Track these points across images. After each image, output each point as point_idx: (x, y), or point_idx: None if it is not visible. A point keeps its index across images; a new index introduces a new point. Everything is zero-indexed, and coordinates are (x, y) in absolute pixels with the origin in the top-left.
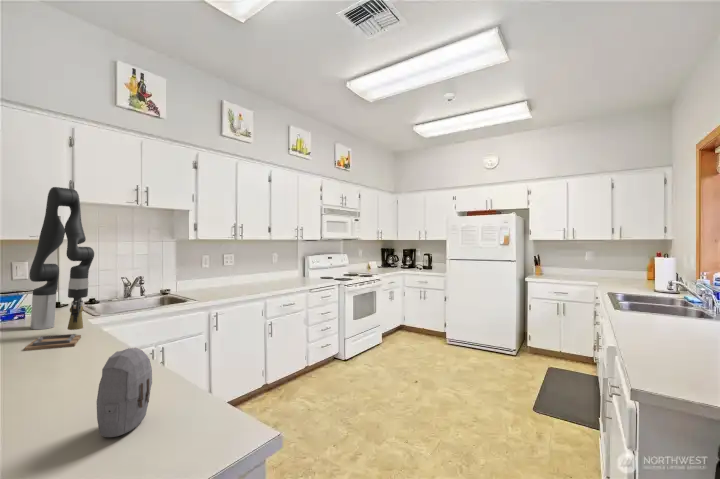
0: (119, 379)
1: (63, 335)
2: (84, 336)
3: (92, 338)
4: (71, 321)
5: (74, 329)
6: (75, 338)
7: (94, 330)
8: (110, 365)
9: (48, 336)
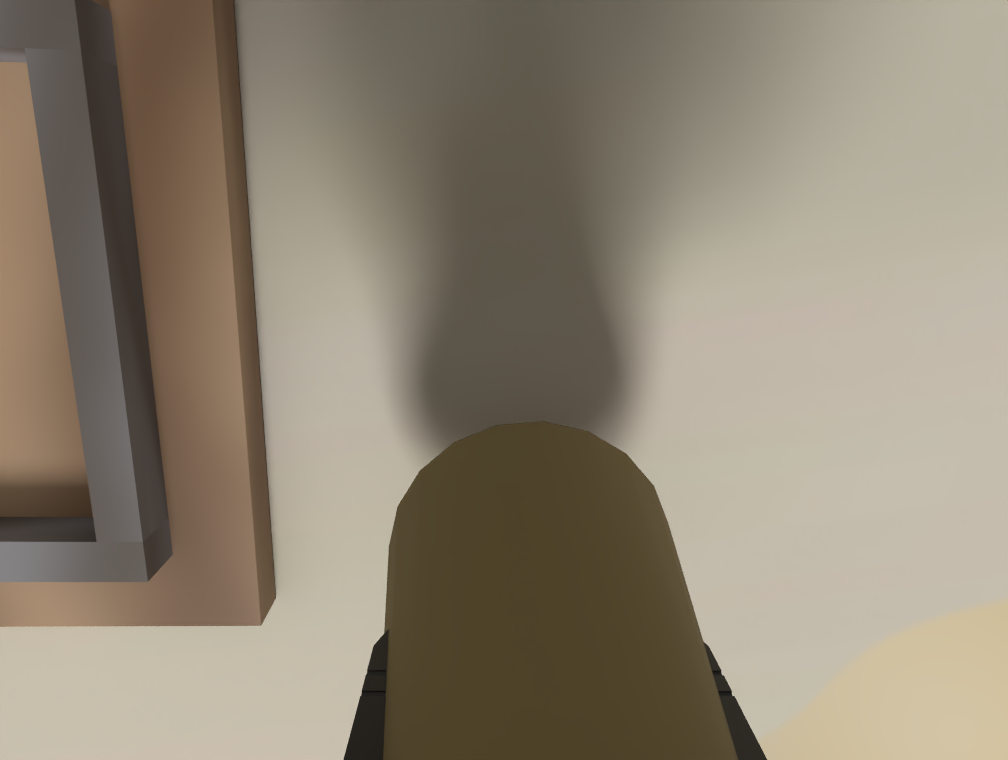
0: None
1: (78, 412)
2: (354, 630)
3: (165, 744)
4: (410, 607)
5: (388, 561)
6: (4, 585)
7: (765, 700)
8: None
9: (45, 150)
